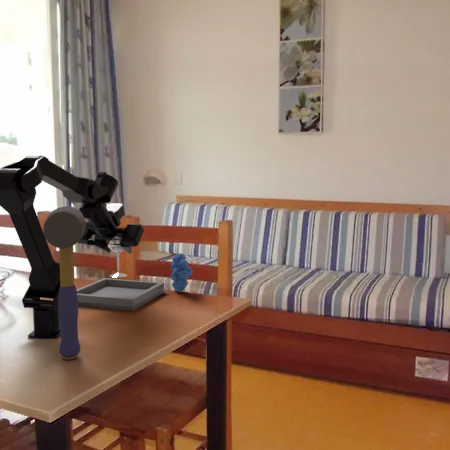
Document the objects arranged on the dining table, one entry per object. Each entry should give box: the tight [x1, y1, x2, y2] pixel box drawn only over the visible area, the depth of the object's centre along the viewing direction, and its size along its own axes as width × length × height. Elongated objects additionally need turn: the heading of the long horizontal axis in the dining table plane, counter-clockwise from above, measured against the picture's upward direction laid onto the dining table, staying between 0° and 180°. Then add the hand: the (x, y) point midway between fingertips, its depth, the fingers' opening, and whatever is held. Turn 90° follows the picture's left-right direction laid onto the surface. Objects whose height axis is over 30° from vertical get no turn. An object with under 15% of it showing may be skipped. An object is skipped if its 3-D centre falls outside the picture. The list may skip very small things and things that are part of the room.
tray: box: [76, 277, 165, 312], centre depth 145 cm, size 20×20×3 cm
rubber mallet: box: [42, 205, 86, 361], centre depth 99 cm, size 12×8×30 cm, turn 13°
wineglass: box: [106, 237, 128, 278], centre depth 143 cm, size 7×7×12 cm
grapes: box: [169, 253, 194, 293], centre depth 152 cm, size 12×7×12 cm, turn 24°
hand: (120, 251), depth 145 cm, fingers closed on wineglass, 6 cm apart
